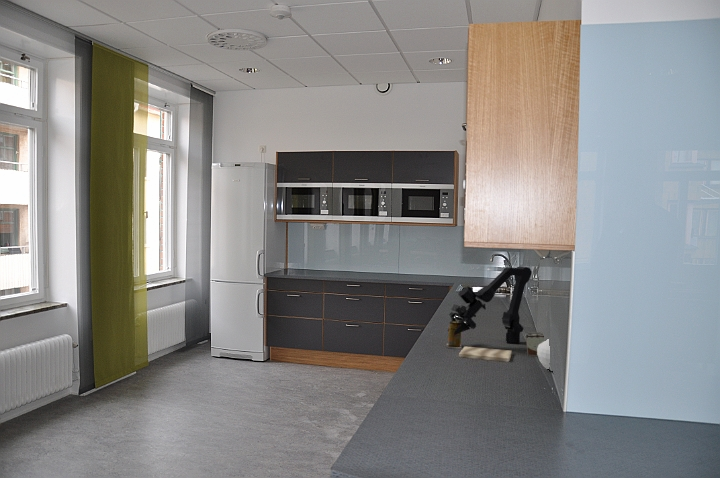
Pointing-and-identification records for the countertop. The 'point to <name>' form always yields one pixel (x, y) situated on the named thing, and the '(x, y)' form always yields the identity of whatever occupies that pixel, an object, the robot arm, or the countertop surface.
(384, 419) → the countertop surface
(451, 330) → the condiment
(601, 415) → the countertop surface
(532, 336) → the food container
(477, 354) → the birch board
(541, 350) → the vase
